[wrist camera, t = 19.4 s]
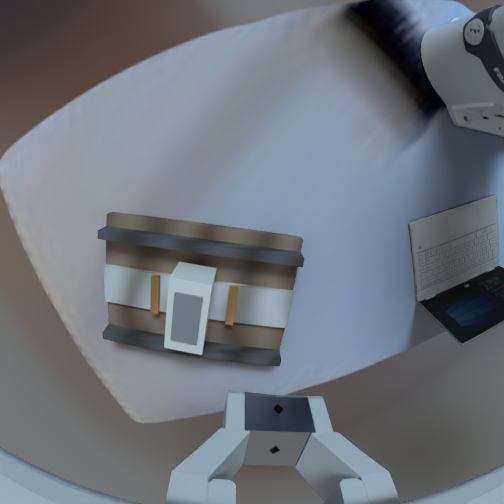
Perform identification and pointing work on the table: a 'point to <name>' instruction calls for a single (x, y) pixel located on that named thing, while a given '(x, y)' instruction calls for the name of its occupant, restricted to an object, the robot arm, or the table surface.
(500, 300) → the laptop
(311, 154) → the table surface
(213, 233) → the rail board
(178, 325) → the block
